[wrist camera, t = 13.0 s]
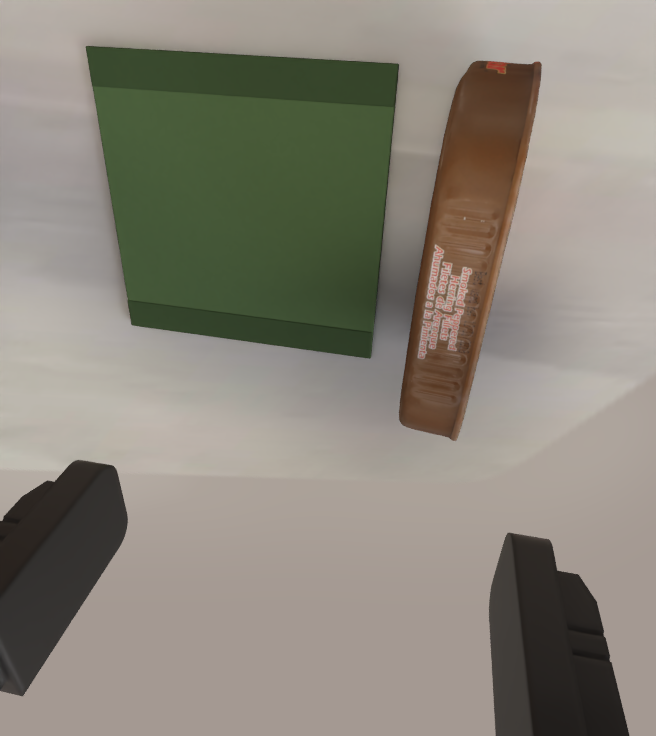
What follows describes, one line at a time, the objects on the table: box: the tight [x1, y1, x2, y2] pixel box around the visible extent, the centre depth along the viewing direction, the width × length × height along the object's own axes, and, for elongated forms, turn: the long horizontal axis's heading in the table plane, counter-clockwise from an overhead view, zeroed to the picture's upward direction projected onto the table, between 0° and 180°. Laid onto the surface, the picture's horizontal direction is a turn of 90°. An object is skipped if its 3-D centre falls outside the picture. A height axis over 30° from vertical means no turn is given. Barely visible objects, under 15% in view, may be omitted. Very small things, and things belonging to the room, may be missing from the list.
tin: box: [399, 61, 542, 441], centre depth 22 cm, size 15×3×8 cm, turn 175°
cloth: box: [86, 46, 399, 358], centre depth 27 cm, size 14×14×1 cm
